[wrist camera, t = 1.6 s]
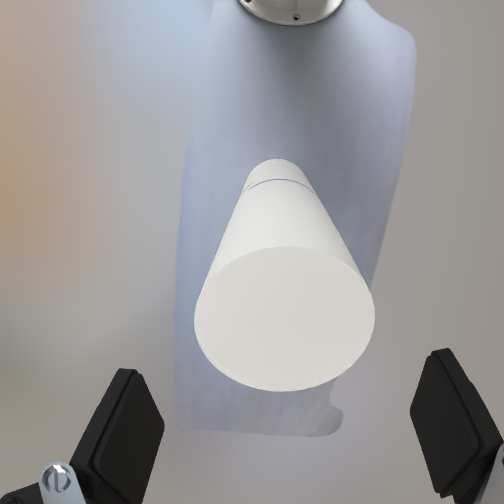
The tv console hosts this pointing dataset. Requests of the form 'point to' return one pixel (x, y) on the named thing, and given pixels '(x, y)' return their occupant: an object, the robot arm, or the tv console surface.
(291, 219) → the cylindrical container
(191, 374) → the tv console surface
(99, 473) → the robot arm
